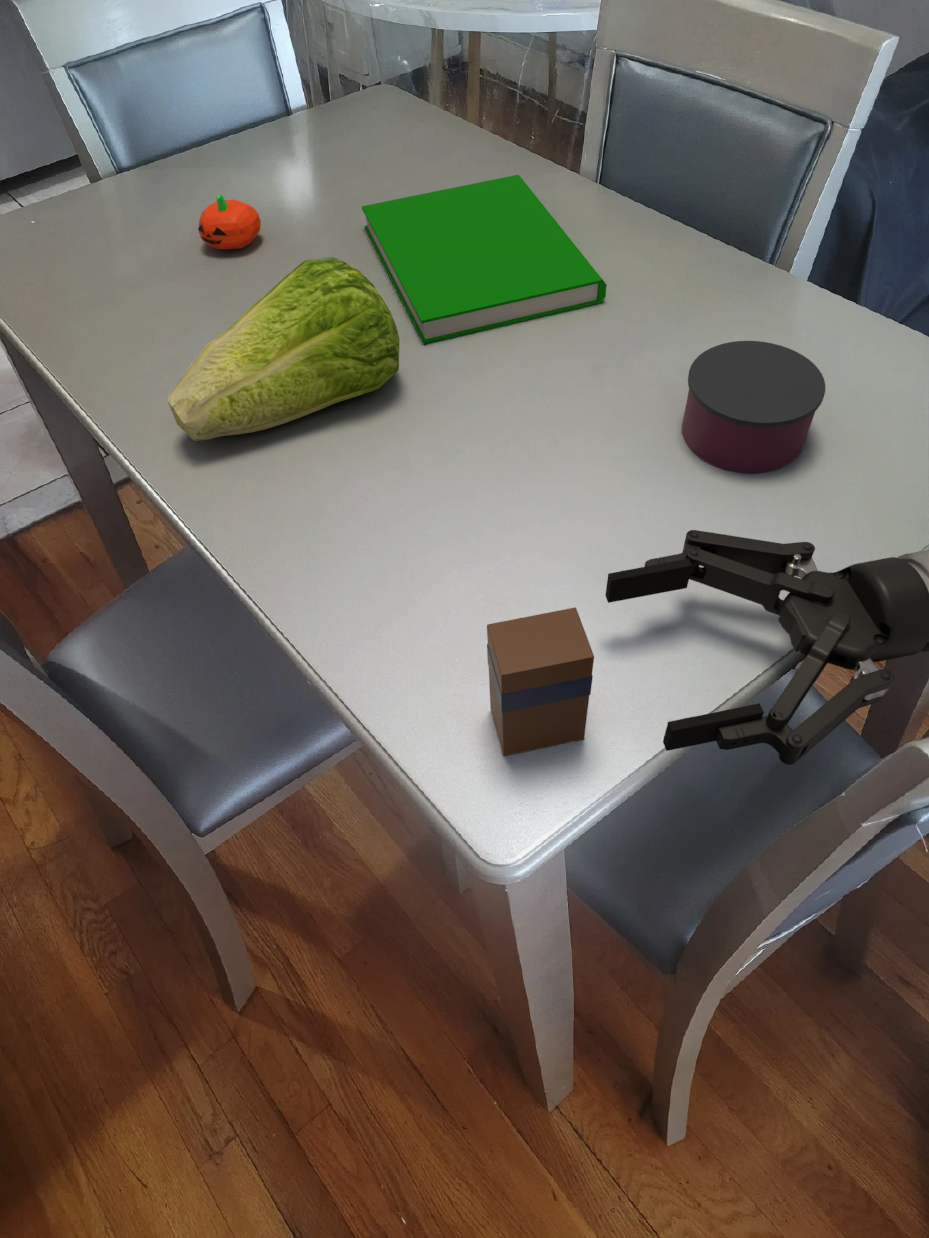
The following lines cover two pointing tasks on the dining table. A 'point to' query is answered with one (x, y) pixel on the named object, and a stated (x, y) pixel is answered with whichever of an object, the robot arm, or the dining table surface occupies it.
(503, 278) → the book
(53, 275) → the dining table surface
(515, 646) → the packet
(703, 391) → the lidded tub
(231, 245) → the pumpkin
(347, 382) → the lettuce
